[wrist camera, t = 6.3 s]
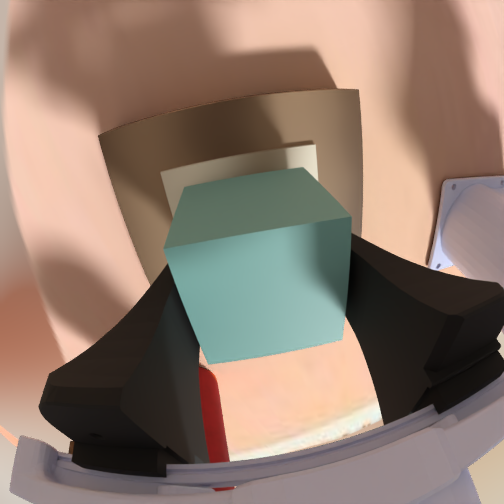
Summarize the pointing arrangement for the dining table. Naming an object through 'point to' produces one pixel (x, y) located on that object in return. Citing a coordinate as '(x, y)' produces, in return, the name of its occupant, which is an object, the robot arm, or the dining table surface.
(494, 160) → the dining table surface
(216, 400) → the paper cup
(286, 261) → the teal block
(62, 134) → the dining table surface
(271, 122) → the walnut base
